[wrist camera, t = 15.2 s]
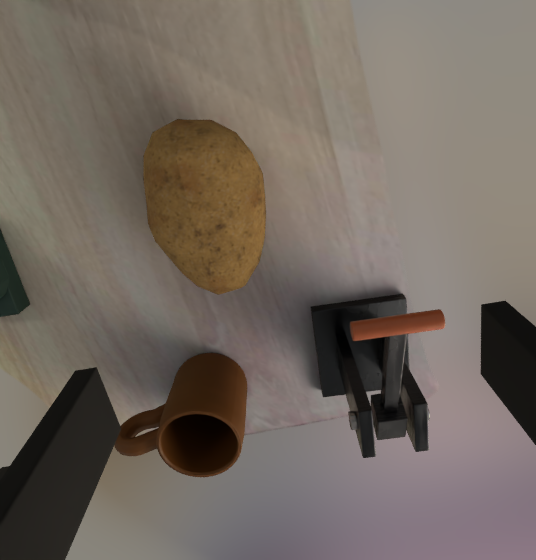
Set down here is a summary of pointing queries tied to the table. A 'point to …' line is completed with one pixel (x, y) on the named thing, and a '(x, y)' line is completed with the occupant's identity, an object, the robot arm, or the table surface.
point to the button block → (10, 284)
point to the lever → (393, 364)
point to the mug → (194, 419)
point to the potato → (205, 202)
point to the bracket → (364, 367)
